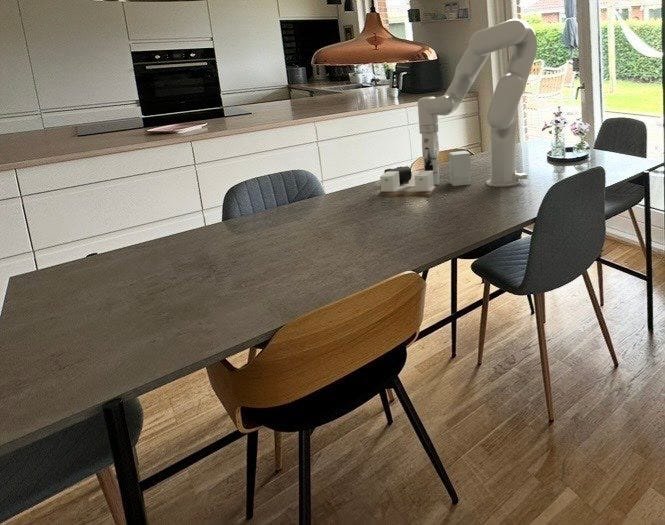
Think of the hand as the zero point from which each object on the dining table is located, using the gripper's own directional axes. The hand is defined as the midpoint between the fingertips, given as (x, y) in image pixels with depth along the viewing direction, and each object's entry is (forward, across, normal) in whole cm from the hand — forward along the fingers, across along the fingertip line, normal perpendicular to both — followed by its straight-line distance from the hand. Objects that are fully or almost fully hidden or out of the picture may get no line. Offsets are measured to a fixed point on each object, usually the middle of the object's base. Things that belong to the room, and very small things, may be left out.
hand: (431, 172), depth 234 cm
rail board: (+5, -14, +7) cm, 16 cm away
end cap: (+5, +3, +16) cm, 17 cm away
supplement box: (+5, +1, -11) cm, 13 cm away
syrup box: (+5, 0, 0) cm, 5 cm away
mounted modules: (+3, -14, +7) cm, 16 cm away
